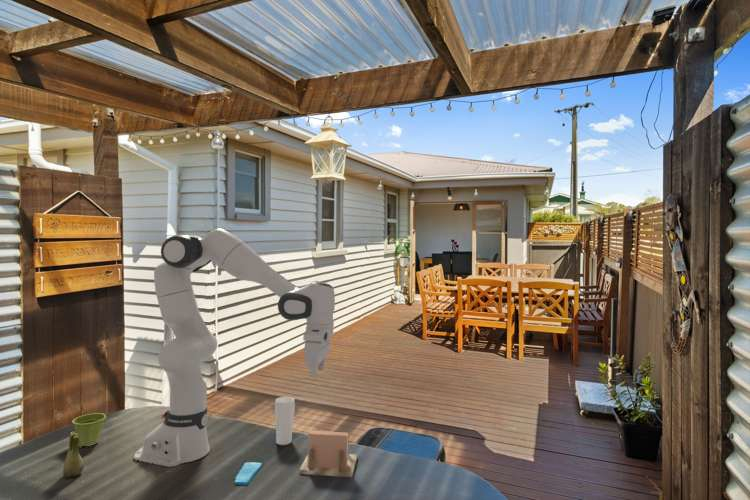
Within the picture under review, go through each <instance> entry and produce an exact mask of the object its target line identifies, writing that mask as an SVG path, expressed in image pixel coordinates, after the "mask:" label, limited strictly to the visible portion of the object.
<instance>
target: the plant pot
mask: <svg viewBox="0 0 750 500" xmlns="http://www.w3.org/2000/svg"><path fill="white" fill-rule="evenodd" d="M106 417H107V416H106V414H105V413H101V412H97V413H88V414H84V415H79V416H77V417H75V418H73V420H72V421H71V422H72V424H73V426H74V428H75V434H76V433H78V437H79V446H87V445H91V444H94V443H96V442H97V441H99V442H100V440H101V433H102V427H103V424H104V422H105V419H106ZM99 439H100V440H99Z"/></svg>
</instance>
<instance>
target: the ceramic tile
mask: <svg viewBox="0 0 750 500" xmlns="http://www.w3.org/2000/svg"><path fill="white" fill-rule="evenodd" d="M348 435H349V432H344V431H343V432H342V431H327V430H326V431H325V430H310V431H308V435H307V437H308V438H307V439H308V440H307V455H308V467H309V452H310V449H314V467H317V468H332V469H339V451H344V456H343V469H347V466H348Z"/></svg>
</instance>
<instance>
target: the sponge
mask: <svg viewBox="0 0 750 500" xmlns="http://www.w3.org/2000/svg"><path fill="white" fill-rule="evenodd" d="M262 467H263V463H262V462H258V461H257V462H256V461H250V462H249V461H248V462H244V464H243V465H242V466H241V468H240V470H239V471H238V473H237V475H236V476H235V477H234V485H235V486H239V485H240V486H248V485H249V484H250V483H251V482H252V481H253V479H254V477H255V476H256V475H257V473H258V472H259V471H260V469H261V468H262Z"/></svg>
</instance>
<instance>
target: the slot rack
mask: <svg viewBox="0 0 750 500" xmlns="http://www.w3.org/2000/svg"><path fill="white" fill-rule="evenodd" d="M349 447H350V434H348V466H347V469H343V456H344V451H339V469H332V468H317V467H314V449H310V452H309V467H308V454H307V455H306V456H305V459H304V461H303V463H302V464H301V466H300V468H299V471H298V473H299V474H301V475H311V476H327V477H328V476H329V477H342V478H353V475H354V473H355V467H356V464H357V461H358V454H356V453H354V454H353V453H349V452H350V451H349V449H350V448H349Z"/></svg>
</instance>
